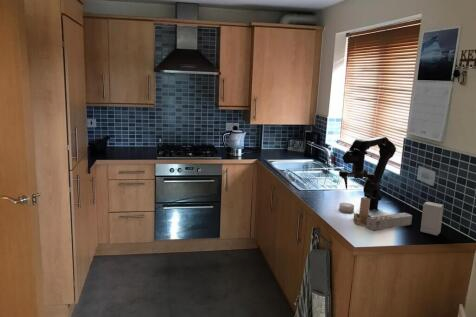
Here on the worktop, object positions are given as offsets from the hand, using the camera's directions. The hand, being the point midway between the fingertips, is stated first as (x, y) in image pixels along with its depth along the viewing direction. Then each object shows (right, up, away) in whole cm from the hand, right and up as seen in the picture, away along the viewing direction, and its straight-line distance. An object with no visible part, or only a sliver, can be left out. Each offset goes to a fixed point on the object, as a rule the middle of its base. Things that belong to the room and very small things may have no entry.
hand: (355, 190), depth 226 cm
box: (+13, -18, -14) cm, 26 cm away
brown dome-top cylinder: (+1, -15, -11) cm, 19 cm away
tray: (+1, -16, -11) cm, 20 cm away
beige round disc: (-3, -12, +6) cm, 14 cm away
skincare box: (+31, -20, -20) cm, 42 cm away
